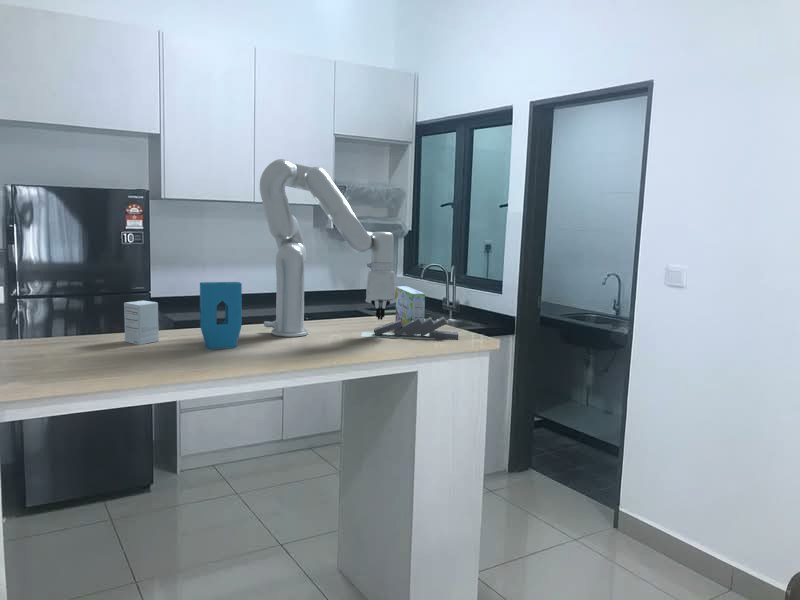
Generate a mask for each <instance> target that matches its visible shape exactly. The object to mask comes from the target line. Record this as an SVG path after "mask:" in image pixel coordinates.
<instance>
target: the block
mask: <svg viewBox="0 0 800 600" xmlns="http://www.w3.org/2000/svg"><path fill="white" fill-rule="evenodd" d="M242 285H243V283H242V282H240V281H220V282H219V281H215V282H214V281H212V282H211V281H210V282H209V281H207V282H206V281H205V282H199V326H200V331H201V334H202V337H203V342H204V344H205V347H206V348H207V349H208V350H216V349H234V348H236V347H237V344H238V340H239V337H240V334H241V330H242V315H243V314H242V313H243V311H242V302H243V301H242V299H243V298H242V297H243V296H242V292H243V291H242V288H243V287H242ZM221 302H223V303H224V321H222V323H218V322H217V321H218V319H217V317H218V316H217V311H218V309H217V307H218V305H220V303H221Z"/></svg>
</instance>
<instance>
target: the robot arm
mask: <svg viewBox="0 0 800 600" xmlns="http://www.w3.org/2000/svg"><path fill="white" fill-rule="evenodd" d="M286 187H287V188H293V189H297V190H303V191H307V192H309V193H310V194H311V195H312V196H313V197H312V198H314V199H315V201H316V203H318V205H319V206H320V208H321V209H322V210H323V212H324V213H325V215H326V217H327V218H328V219H329V220H330V222H331V223H332V224H333V225H334V226H335V228H336V229H337V230H338V232H339V233H340V234H341V236H342V237H343V239H344V240H345V242H346V243H347V244H348V246H349V247H350V248H351V251H353V252H355V253H358V254H364V253H366V252H371V255H370V256H371V261H370V263H366V268H369V269H370V270H368V274H367V279H366V294H365V296H366V297H365V300H364V301H365V302H366V303H367V304H368V303H369V304H372V305H373V306H374V307H375V317H376V318H377V320H378V321H379V320H381V321H382V320H383V318H385V316H386V315H385V313H386V311H385V310H386V308H387V307H388V306H389V305H392V304H396V287H397V286H396V274H395V271H393V266H394V262H393V261H394V240H395V239H394V234H393V233H392V232H389V231H375V232H374V231H368V230H366V229H365V227H364V226H363V225H362V223H361V222H360V221H359V218H358V217H357V216H356V214H355V212H353V209H352V208H351V205H350V204H349V201H348V200H347V199H346V197H345V195H344V194H343V193H342V192H341V190H340V189H339V187H338V186H337V185H336V183H335V182H334V181H333V180H332V178H331V176H330V175H329V174H328V172H327V171H326V170H325V169H324V168H322V167H320V166H313V167H312V166H308V165H304V164H303V165H302V164H298V163H294V162H291V161H289V160H288V159H283V158H277V159H275V160H273V161H272V162H270V163H269V164H268V165H267V166H266V167H265V168H264V170H263V171H262V174H261V175H260V180H259V192H260V198H261V200H262V207H263V210H264V213H265V218H266V221H267V225H268V229H269V232H270V234H271V236H272V237H273V238H274V239H275V242H276V245H277V249H278V251H277V252H276V256H275V272H276V273H275V274H276V275H275V276H276V288H275V289H276V295H275V296H276V297H275V298H276V303H275V305H276V307H275V308H276V309H275V310H276V311H275V312H276V314H275V315H276V316H275V317H276V318H275V320H273V321H263V325H264V327H265V328H272V330H271V335H274V336H276V337H287V338H288V337H291V338H292V337H303V336H307V335H308V334H309V330H308V329H306V328H304V327H305V324H304V323H305V322H304V321H305V320H304V319H305V317H304V316H305V263H306V261H307V259H308V258H307V257H308V254H307V249H306V245H305V242H304V238H303V234H302V231H301V227H300V225H299V221H298V220H297V218H296V217H295V216H294V215H293V214H292V211H291V208H290V204H289V200H288V196H287V194H286ZM379 301H382V305H381V306H380V302H379Z"/></svg>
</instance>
